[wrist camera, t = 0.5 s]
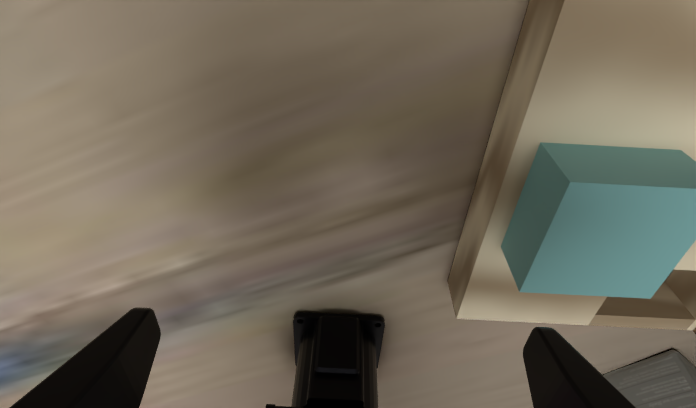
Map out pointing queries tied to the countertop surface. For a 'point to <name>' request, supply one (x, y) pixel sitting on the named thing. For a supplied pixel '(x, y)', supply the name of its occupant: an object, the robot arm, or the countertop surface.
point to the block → (601, 220)
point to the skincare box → (657, 382)
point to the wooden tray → (586, 129)
